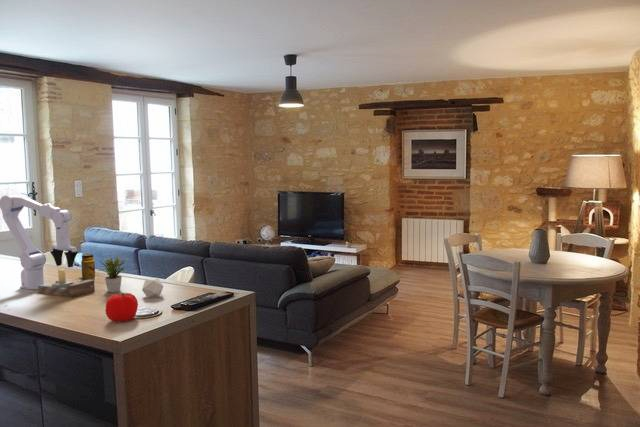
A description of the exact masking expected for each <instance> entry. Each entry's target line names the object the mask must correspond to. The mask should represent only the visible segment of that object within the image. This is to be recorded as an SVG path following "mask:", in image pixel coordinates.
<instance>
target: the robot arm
mask: <svg viewBox="0 0 640 427" xmlns="http://www.w3.org/2000/svg"><path fill="white" fill-rule="evenodd" d="M24 207H25V208H28V209H30V210H34V211H37V212H38V214H40V216H41V217H45V218H46V219H50V220H52V222H53V223H54V228H55V240H56V241H55V244H53V245H50V250H51V251H50V252H49V253H50V254H51V255H52V258H53V259H54V262H55V265H56V267H59V266H62V264H63V253H64V255H65V258H66V263H67V267H68V268H73V267H74V264H75V259H76V257H77V255H78V249H77V248H78V247H76V246H73V245H71V230H70V222H71V220H72V218H73V217H72V213H71V211H69V210H68V209H61V208H60V207H56V206H53V205H52V203H50V202H49V203H48V202H47V203H44V204H42V203H39V202H38V201H35V199H31V198H29V197H28V196H26V195H24V194H20V193H18V194H11V195H3V196H1V197H0V210H1V214H2V218H3V220H4V222H5V225H6V226H7V228H8V229H9V231H10V234H11V235H12V237H13V238H14V241H15V243H16V244H17V246H18V249H19V250H20V254H19V255H18V258H19V260H20V265H21V267H22V268H23V269H22V270H21V272H20V282H21V286H20V287H19V288H20V289H25V290H31V291H32V290H34V291H35V290H37V289H38V285H47V286H50V285H49V284H45V279H44V267H45V264H46V263H47V257H46V255H45V254H44V253H43V252H42V251H41V249H40V248H38V247H36V246H34V244H33V242H32V240H31V239H30V238H31V237H29V234H28V233H27V231H26V230H25V227H24V226H23V224H22V222H21V220H20V219H19V214H20V213H21V212H22V210H23V209H24Z"/></svg>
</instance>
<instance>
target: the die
mask: <svg viewBox="0 0 640 427" xmlns="http://www.w3.org/2000/svg"><path fill="white" fill-rule="evenodd" d="M163 288H164V284H163V283H162V281H161V280H160V278H158V277H153V278H145V280H144V283H143V286H142V289H141V290H142V291H141V292H143V294H144V295H145V296H146V298H147V299H152V298H159V297H160V296H161V294H162V291H163Z"/></svg>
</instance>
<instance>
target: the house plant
mask: <svg viewBox="0 0 640 427" xmlns="http://www.w3.org/2000/svg"><path fill="white" fill-rule="evenodd" d="M118 256H119V254H117V256H116V258H114V259H115V260H114V262H113V258H112V257H111V255H109V258H110V259H108V258H107V257H104V260H105V261H104V262H103V261H99V262H100V263H101V264H102V265H103V266H104V267H105V269H98V270H97V271H99V272H100V271H101V272H105V273H107V276H106V277H104V280H105V285H106V289H107V293H117V292H120V291H121V287H122V286H121V285H122V277H123V276H121V275H119V274H120V273H122V271H123V272H126V273H127V271H126V267H127V265H126V266H122V265H123V264H127V263H128V262H127V261H128V260H129V257H128V258H124V259H122V260H121V261H120V259H121V256H119V257H118ZM121 266H122V267H121Z"/></svg>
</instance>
